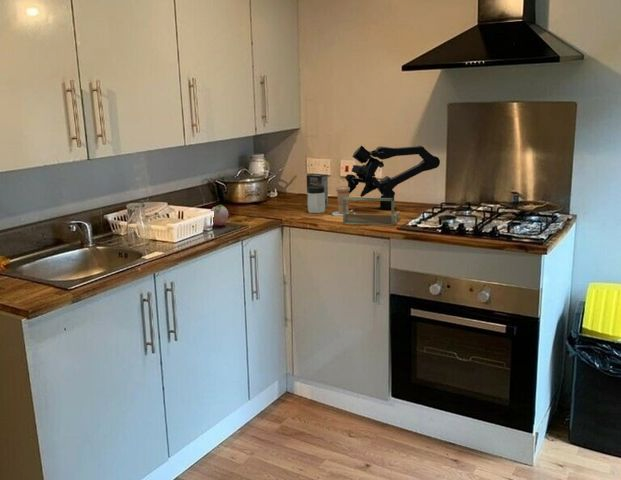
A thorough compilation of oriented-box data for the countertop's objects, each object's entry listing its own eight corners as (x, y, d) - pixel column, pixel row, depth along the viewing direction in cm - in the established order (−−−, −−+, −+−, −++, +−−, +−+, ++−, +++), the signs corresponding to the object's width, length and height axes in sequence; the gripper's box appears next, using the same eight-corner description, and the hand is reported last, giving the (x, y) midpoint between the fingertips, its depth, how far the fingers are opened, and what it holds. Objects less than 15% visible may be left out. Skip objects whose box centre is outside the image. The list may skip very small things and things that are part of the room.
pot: (349, 211, 301) (348, 186, 298) (351, 213, 295) (350, 188, 292) (336, 212, 300) (335, 186, 297) (337, 214, 294) (337, 188, 291)
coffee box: (306, 207, 319) (305, 175, 316) (313, 205, 324) (312, 173, 321) (322, 208, 314) (321, 176, 311) (328, 206, 320) (328, 174, 316)
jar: (313, 214, 301) (312, 188, 298) (304, 211, 307) (303, 187, 305) (329, 211, 305) (328, 186, 303) (319, 209, 312) (318, 185, 309)
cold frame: (352, 217, 289) (351, 191, 286) (400, 219, 282) (400, 192, 280) (343, 224, 275) (342, 197, 272) (393, 226, 268) (393, 198, 265)
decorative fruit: (210, 224, 283) (209, 202, 281) (229, 223, 284) (228, 201, 282) (209, 228, 274) (207, 206, 272) (228, 228, 275) (227, 205, 273)
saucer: (344, 211, 305) (344, 210, 305) (360, 214, 297) (360, 212, 296) (327, 214, 298) (326, 213, 298) (342, 217, 290) (342, 216, 290)
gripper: (347, 157, 305) (331, 183, 301) (375, 159, 292) (359, 186, 287) (359, 171, 312) (343, 197, 308) (387, 174, 298) (371, 201, 294)
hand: (353, 195), depth 299 cm, fingers open, 9 cm apart
